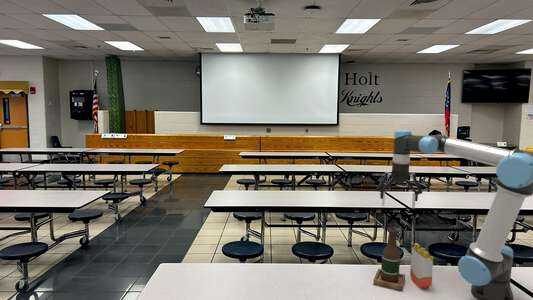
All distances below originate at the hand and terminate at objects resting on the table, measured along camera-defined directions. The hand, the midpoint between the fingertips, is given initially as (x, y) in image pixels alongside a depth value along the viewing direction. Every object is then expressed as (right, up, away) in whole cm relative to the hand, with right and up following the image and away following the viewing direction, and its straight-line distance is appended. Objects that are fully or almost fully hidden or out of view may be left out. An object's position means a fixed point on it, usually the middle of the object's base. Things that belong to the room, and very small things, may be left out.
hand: (398, 206), depth 169 cm
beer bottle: (-7, -32, -9) cm, 34 cm away
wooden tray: (-7, -33, -9) cm, 35 cm away
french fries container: (+6, -34, -11) cm, 36 cm away
